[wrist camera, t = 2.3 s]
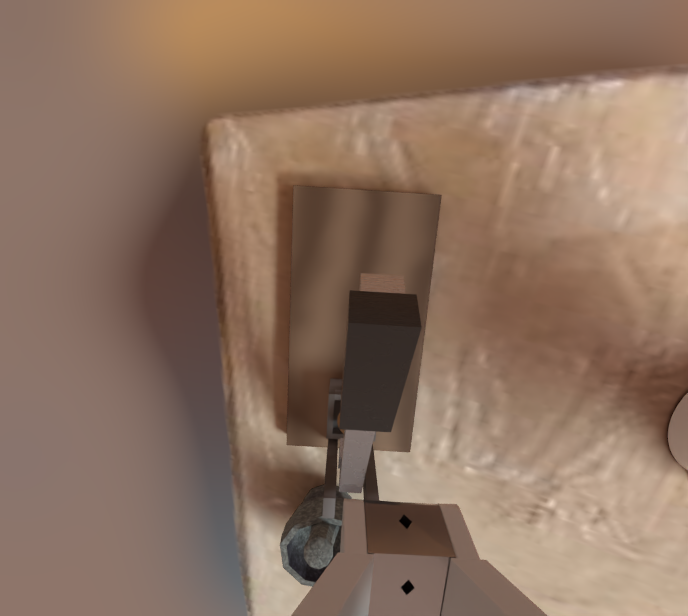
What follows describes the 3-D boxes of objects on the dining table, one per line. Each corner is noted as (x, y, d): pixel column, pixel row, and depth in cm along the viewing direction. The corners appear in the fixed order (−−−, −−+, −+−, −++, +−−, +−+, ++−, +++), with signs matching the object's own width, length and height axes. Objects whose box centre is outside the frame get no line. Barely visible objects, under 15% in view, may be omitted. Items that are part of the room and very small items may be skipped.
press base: (436, 195, 37) (483, 187, 24) (407, 441, 44) (431, 533, 31) (296, 186, 37) (270, 173, 24) (289, 434, 44) (266, 524, 31)
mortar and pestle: (367, 535, 47) (374, 640, 36) (294, 538, 48) (278, 643, 36) (362, 459, 45) (368, 546, 33) (285, 463, 45) (264, 551, 33)
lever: (411, 262, 18) (421, 327, 15) (366, 465, 35) (366, 515, 32) (350, 259, 18) (348, 322, 15) (334, 463, 35) (332, 513, 32)
